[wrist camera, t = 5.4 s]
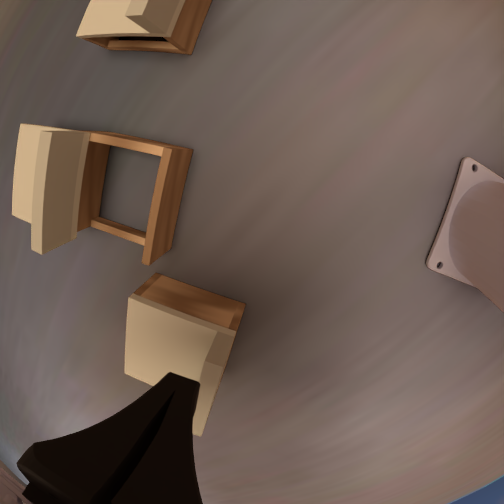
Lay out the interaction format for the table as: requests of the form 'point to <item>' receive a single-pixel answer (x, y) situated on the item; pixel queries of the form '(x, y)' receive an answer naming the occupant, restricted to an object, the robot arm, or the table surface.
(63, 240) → the lid
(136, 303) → the lid
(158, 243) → the crates
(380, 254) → the table surface
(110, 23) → the lid
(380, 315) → the table surface
